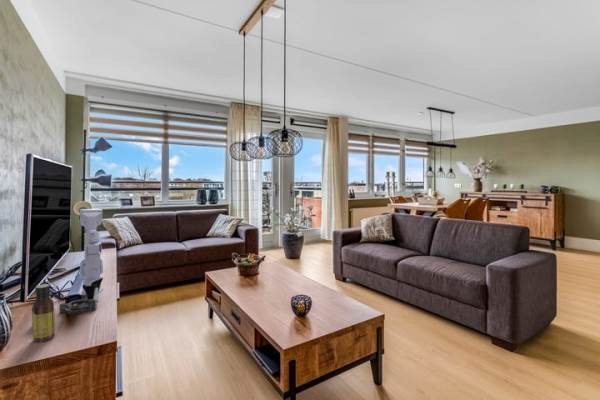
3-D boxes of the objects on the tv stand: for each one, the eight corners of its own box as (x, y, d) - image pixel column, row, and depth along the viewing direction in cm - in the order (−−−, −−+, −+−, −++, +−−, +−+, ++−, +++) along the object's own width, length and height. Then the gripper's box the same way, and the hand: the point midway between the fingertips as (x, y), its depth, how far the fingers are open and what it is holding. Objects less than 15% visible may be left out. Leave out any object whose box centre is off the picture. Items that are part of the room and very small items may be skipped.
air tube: (99, 300, 148) (99, 286, 148) (96, 303, 144) (96, 289, 144) (89, 301, 147) (89, 287, 147) (86, 304, 143) (86, 290, 143)
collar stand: (63, 309, 137) (63, 299, 137) (98, 306, 141) (98, 297, 141) (56, 316, 130) (56, 306, 130) (93, 312, 134) (93, 303, 134)
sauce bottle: (41, 334, 114) (41, 282, 113) (59, 334, 115) (59, 282, 114) (27, 343, 108) (26, 288, 107) (45, 343, 108) (45, 288, 107)
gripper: (88, 264, 151) (88, 291, 151) (77, 272, 137) (77, 302, 137) (104, 264, 153) (104, 290, 153) (95, 271, 139) (95, 301, 140)
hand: (93, 296), depth 145 cm, fingers open, 7 cm apart
